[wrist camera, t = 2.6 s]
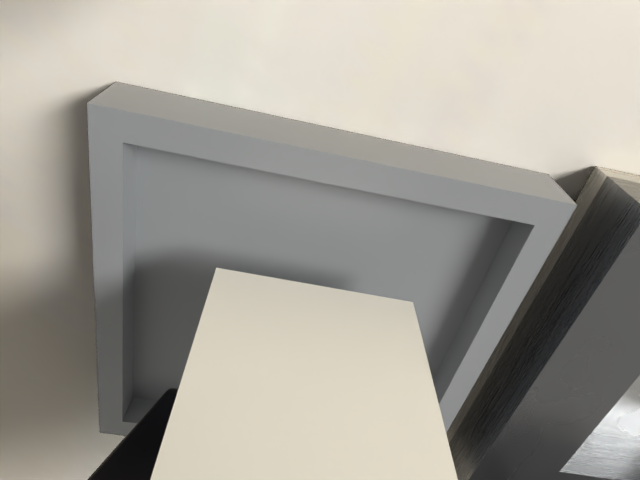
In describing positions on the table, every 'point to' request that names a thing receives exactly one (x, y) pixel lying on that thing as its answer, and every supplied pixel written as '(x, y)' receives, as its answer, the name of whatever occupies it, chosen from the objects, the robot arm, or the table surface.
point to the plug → (304, 389)
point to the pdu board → (566, 357)
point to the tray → (296, 234)
